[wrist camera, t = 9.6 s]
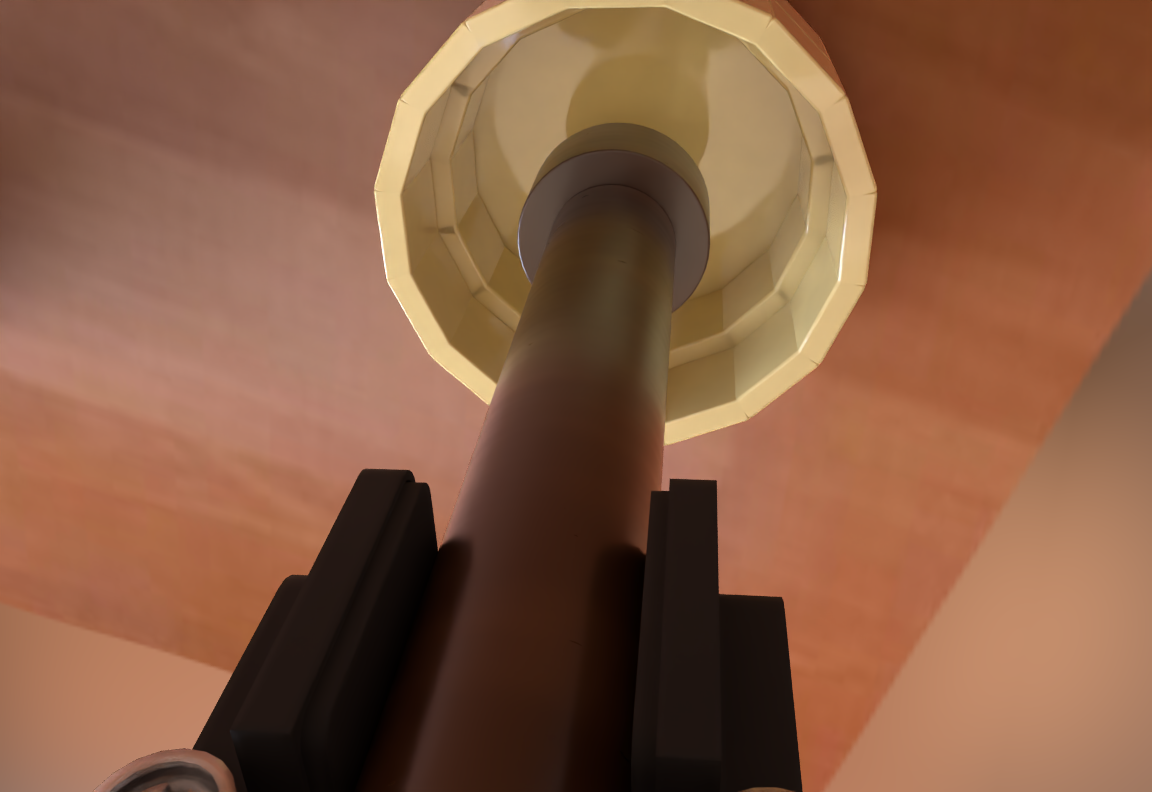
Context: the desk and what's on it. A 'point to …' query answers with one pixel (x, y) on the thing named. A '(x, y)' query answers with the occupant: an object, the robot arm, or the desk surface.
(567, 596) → the stirrer
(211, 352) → the desk surface
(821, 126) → the bowl
